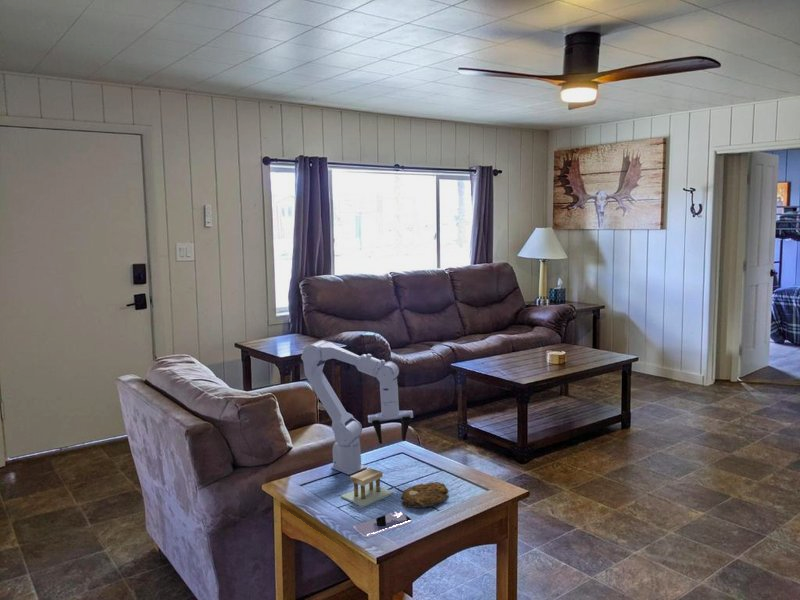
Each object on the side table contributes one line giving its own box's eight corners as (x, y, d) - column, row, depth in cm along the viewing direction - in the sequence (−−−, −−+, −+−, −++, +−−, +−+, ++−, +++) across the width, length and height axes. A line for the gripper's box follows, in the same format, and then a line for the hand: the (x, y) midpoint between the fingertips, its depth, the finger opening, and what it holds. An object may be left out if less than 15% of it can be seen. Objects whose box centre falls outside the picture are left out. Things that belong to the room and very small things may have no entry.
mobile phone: (351, 524, 165) (399, 509, 173) (351, 528, 165) (399, 512, 173) (365, 536, 158) (414, 519, 166) (365, 539, 158) (414, 522, 166)
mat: (340, 497, 183) (340, 495, 183) (371, 484, 192) (371, 483, 192) (362, 507, 176) (362, 505, 176) (393, 493, 184) (393, 491, 184)
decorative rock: (429, 488, 189) (394, 506, 178) (428, 475, 188) (393, 493, 178) (458, 496, 181) (423, 516, 170) (456, 482, 180) (421, 502, 170)
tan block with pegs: (351, 495, 183) (350, 476, 182) (370, 486, 189) (369, 467, 188) (364, 500, 179) (362, 480, 179) (383, 491, 185) (382, 472, 184)
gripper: (408, 394, 203) (411, 434, 205) (365, 399, 200) (367, 440, 202) (413, 400, 196) (416, 441, 198) (368, 405, 193) (371, 447, 195)
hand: (392, 441), depth 199 cm, fingers open, 7 cm apart
